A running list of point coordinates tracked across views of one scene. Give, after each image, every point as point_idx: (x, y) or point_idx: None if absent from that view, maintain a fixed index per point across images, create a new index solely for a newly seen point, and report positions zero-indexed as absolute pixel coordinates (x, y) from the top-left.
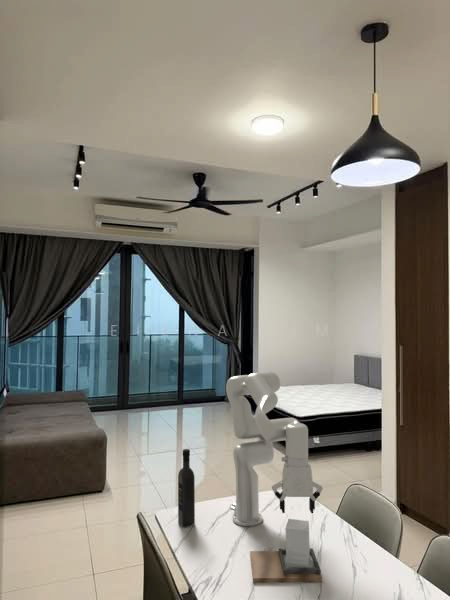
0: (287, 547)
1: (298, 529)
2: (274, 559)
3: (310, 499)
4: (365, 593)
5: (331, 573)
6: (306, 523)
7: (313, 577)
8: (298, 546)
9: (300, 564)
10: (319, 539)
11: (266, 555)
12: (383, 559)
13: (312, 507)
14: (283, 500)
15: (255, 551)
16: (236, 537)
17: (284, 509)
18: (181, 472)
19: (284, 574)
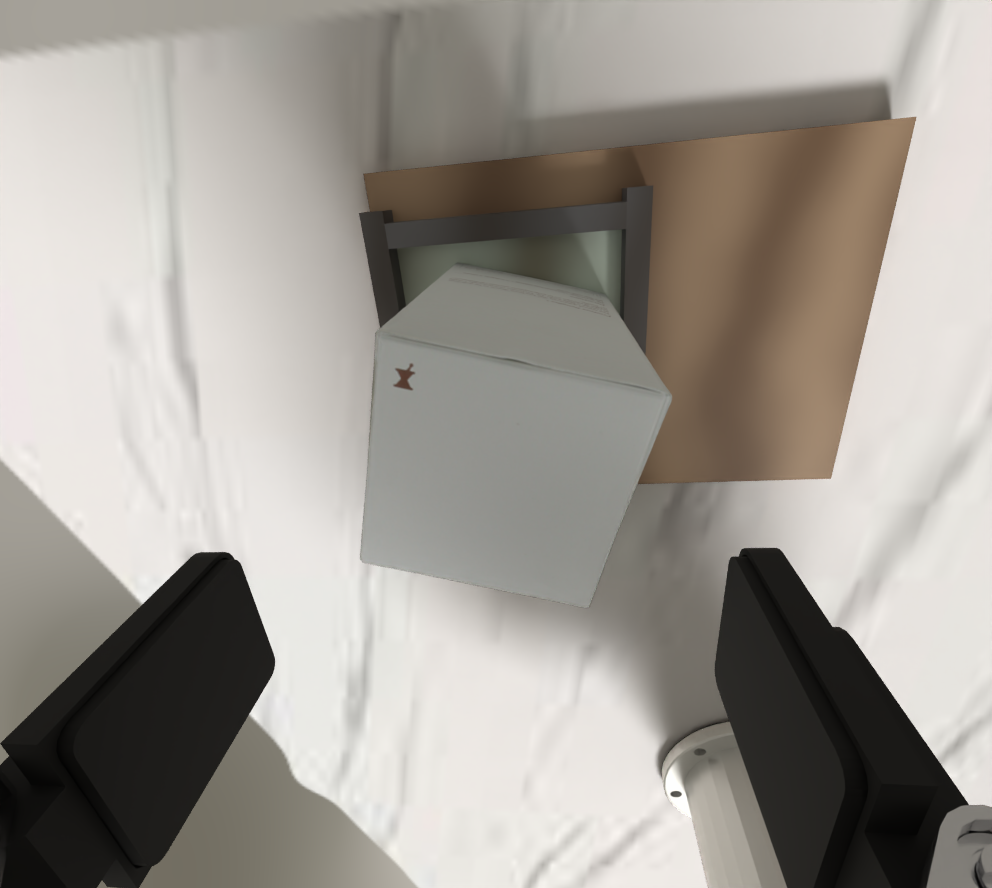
0: (617, 323)
1: (494, 364)
2: (678, 386)
3: (111, 828)
4: (86, 60)
5: (312, 290)
6: (383, 507)
7: (424, 172)
8: (512, 305)
9: (507, 274)
10: (375, 610)
11: (726, 430)
12: (37, 443)
13: (136, 623)
14: (875, 835)
15: (792, 474)
16: (853, 633)
17: (763, 598)
18: None
19: (641, 185)
